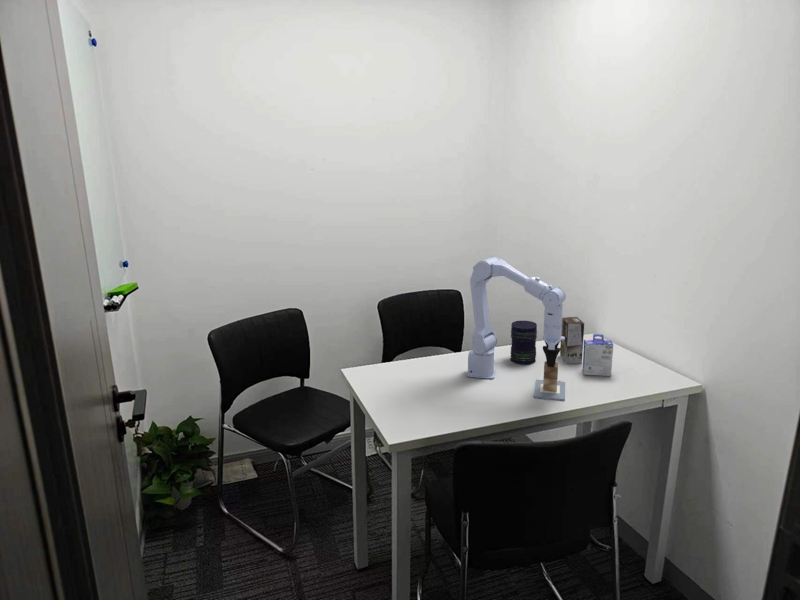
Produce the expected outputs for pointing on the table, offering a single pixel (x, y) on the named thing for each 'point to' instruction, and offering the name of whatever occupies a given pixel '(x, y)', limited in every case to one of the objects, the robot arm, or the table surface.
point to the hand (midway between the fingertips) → (551, 362)
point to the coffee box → (572, 340)
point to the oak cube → (550, 385)
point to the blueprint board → (547, 394)
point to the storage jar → (523, 342)
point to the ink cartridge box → (597, 356)
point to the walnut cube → (551, 371)
